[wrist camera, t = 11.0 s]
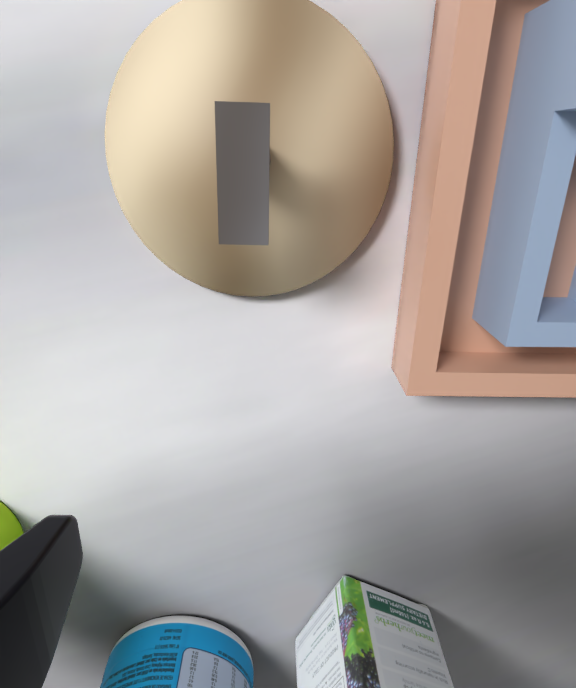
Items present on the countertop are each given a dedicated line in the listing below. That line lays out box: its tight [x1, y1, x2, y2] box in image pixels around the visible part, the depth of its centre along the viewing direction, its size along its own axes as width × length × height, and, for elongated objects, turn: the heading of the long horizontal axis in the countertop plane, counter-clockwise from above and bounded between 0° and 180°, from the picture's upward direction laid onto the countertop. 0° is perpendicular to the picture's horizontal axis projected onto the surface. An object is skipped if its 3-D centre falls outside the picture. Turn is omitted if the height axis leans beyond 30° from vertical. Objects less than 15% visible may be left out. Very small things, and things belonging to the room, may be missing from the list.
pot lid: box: [105, 0, 394, 297], centre depth 15 cm, size 10×10×5 cm
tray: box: [391, 0, 576, 398], centre depth 16 cm, size 10×15×2 cm, turn 179°
